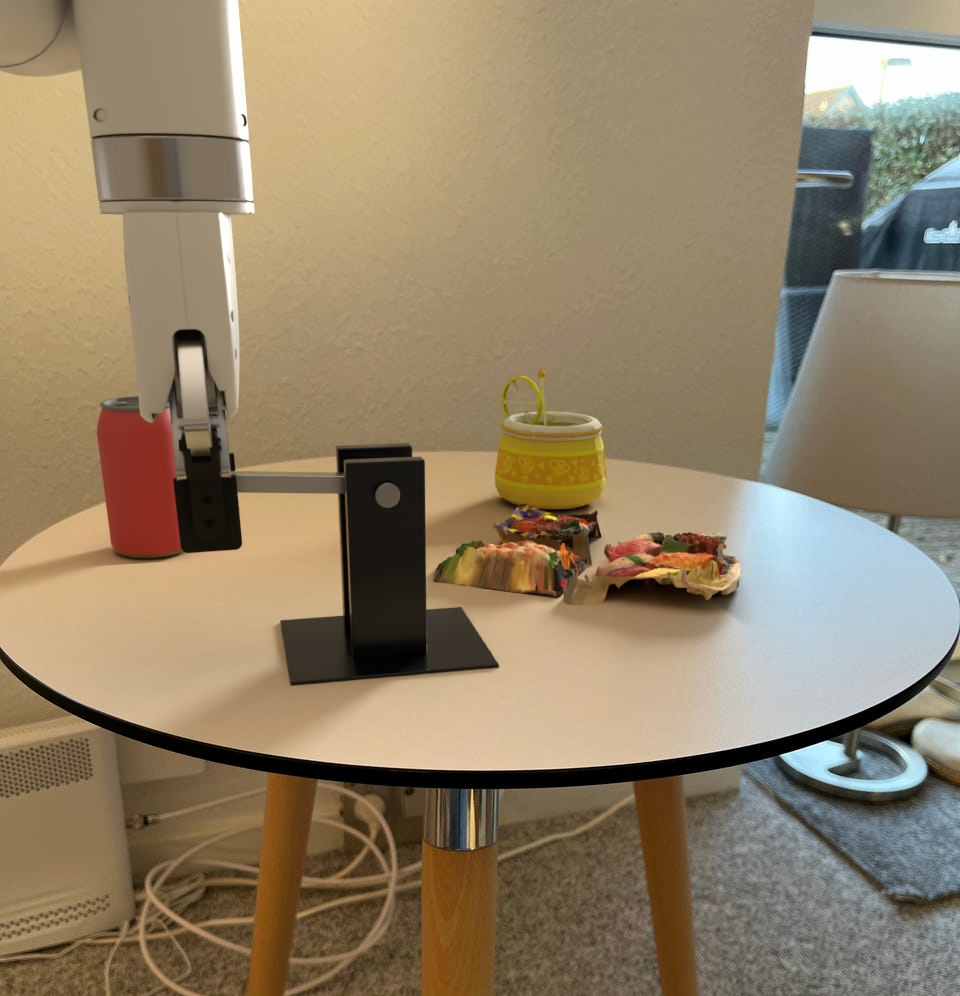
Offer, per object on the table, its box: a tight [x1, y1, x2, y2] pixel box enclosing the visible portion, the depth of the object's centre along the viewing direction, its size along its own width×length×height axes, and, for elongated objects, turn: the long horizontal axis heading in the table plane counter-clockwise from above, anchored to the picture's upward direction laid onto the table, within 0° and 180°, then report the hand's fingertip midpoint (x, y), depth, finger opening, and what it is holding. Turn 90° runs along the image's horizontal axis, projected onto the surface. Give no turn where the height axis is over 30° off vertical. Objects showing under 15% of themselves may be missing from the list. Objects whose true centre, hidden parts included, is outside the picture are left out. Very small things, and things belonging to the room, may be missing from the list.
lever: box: [220, 470, 345, 495], centre depth 57 cm, size 12×5×2 cm, turn 104°
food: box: [432, 504, 742, 606], centre depth 77 cm, size 22×19×4 cm
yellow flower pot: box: [494, 368, 608, 511], centre depth 99 cm, size 13×11×12 cm
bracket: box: [279, 442, 500, 687], centre depth 60 cm, size 12×10×13 cm
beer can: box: [96, 395, 185, 560], centre depth 81 cm, size 7×7×12 cm
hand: (212, 532), depth 57 cm, fingers closed on lever, 5 cm apart
